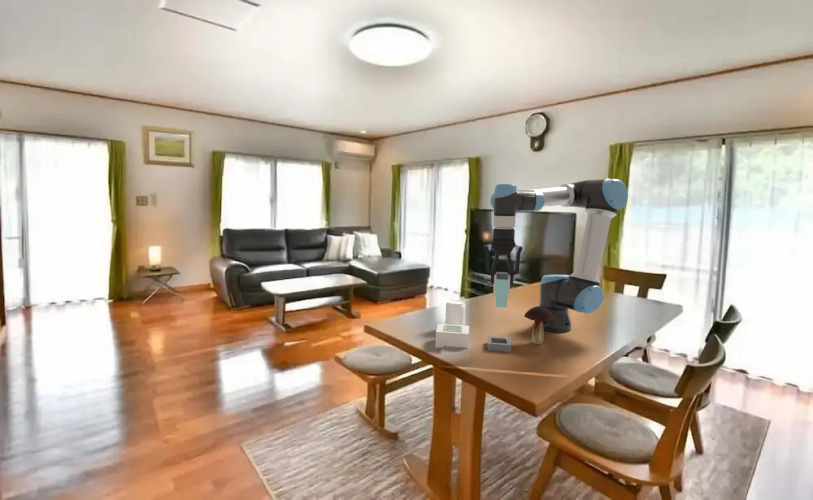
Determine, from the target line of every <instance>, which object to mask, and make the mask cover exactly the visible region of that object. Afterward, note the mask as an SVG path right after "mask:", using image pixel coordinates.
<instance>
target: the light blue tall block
mask: <svg viewBox="0 0 813 500" xmlns="http://www.w3.org/2000/svg"><path fill="white" fill-rule="evenodd" d="M495 274H496V275H497V278H496V293H494V296H495V297H494V306H495V308H508V295H509V294H508V275H509V271H508V272H505V271H495Z"/></svg>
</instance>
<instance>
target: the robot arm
mask: <svg viewBox="0 0 813 500" xmlns="http://www.w3.org/2000/svg"><path fill="white" fill-rule="evenodd" d="M628 193H629V192H628V189H627V187H626V185H625V183H624V182H623V181H622V180H620V179H616V178H605V179H591V180H590V179H586V180H581V181H576V182H571V183H563V184H561V185H560V186H556V187H555V186H554V187H543V188H530V189H518V188H517V184H515V183H498V184H496V185H495V188H494V193H492V194H491V197H490V202H489V203H490V206H491V208H492V209H493V221H492V222H493V223H492V224H493V225H492V226H493V227H494V228H493V229H492V240H491V242H490V244H484V245H483V246H484V248H483V249H484V250H485V272H486V273H487V274H489V275H490V283H491V284H493V294H495V293H496V278H497V275H496V269H497V265H498V263H499V257H500V256H501V255H506V259H507V265H508V266H507V267H508V270H509V271H508V294H507V295H510V292H511V290H510V288H511V285H513V284H514V276H515V275H518V274H519V273H520V265H521V264H520V263H521V253H522V251H523V246H522V245H519V244H516V242H515V241H516V240H515V239H516V238H515V235H516V234H515V233H516V232H515V231H516V230H515V229H514V228H515V227H516V215H517V214H516V213H517V212H531V213H532V212H539V211H541V210H542V209H543V208H544V207H552V206H553V207H555V206H561V207H564V208H568V207H573V208H581V209H582V208H583V209H585V212H586V214H587V218H586V223H585V226H584V231H583V236H582V240H581V243H580V247H579V252H578V255H577V260H576V265H575V268H574V272H572V273H571V274H569V275H568V274H544V275H543V276H542V277H541V281H540V284H539V285H540V291H539V293H540V294H539V306H541V307H543V308H545V309H547V310H548V311H550V312H551V313H552V315H553V317H554V320H553V321H543V329H544V331H548V332H554V333H555V332H556V333H566V332H569V331H571V330H572V321H571V317H570V314H569V310H572V311H575V312H577V313H581V314H582V313H584V314H593V313H594V312H596V311H597V310H598V309H599V308H601V306H602V304H603V302H604V299H605V293H604V289H602V287H600V286H601V281H600V280H599V278H598V275H599V272H600V271H599V270H600V268H601V263H602V259H603V255H604V250H605V246H606V243H607V238H608V234H609V230H610V225H611V222H612V219H613V218H614V217H616V216H617V215H618V211H619V210H621V209H623V208H624V207H625V206H626V204H627V202H628V199H629V197H628V196H629V194H628ZM492 248H493V250H494V252H495V255H494V257H493V258H494V259H493V263H492V266H490V265H491V264H490V257H491V256H490V255H491V253H490V251H491V250H492ZM514 249H515V251H516V252H515V253H516V254H515V263H514V264H515V265H514V268H513V262H512V257H511V255H512V254H511V253H512V252H513V250H514ZM490 267H491V269H490Z"/></svg>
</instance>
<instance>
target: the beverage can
mask: <svg viewBox="0 0 813 500" xmlns="http://www.w3.org/2000/svg"><path fill="white" fill-rule="evenodd" d="M465 318H466V304H465V301H464V300H459V299H449V300H447V301H446V304H445V322H444V324H449V325H464V326H466V325H465V324H466V323H465V322H466V319H465Z"/></svg>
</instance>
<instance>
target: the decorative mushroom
mask: <svg viewBox="0 0 813 500" xmlns="http://www.w3.org/2000/svg"><path fill="white" fill-rule="evenodd" d="M523 317H524V318H526V319H528V320H531V321H534V322H533V327H532V333H531V334H532V335H531V342H532V344H534V345H542V344H543V343H544V339H545V338H544V335H545V334H544V333H545V332H544V331H545V330H544V329H543V321H553V320H554V317H553V315H552V313H551V312H550V311H548V310H547V309H545V308H543V307H541V306H540V305H537V306H533V307H531V308H530V309H528V310H527V311H526V312H525V313H524V315H523Z"/></svg>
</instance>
